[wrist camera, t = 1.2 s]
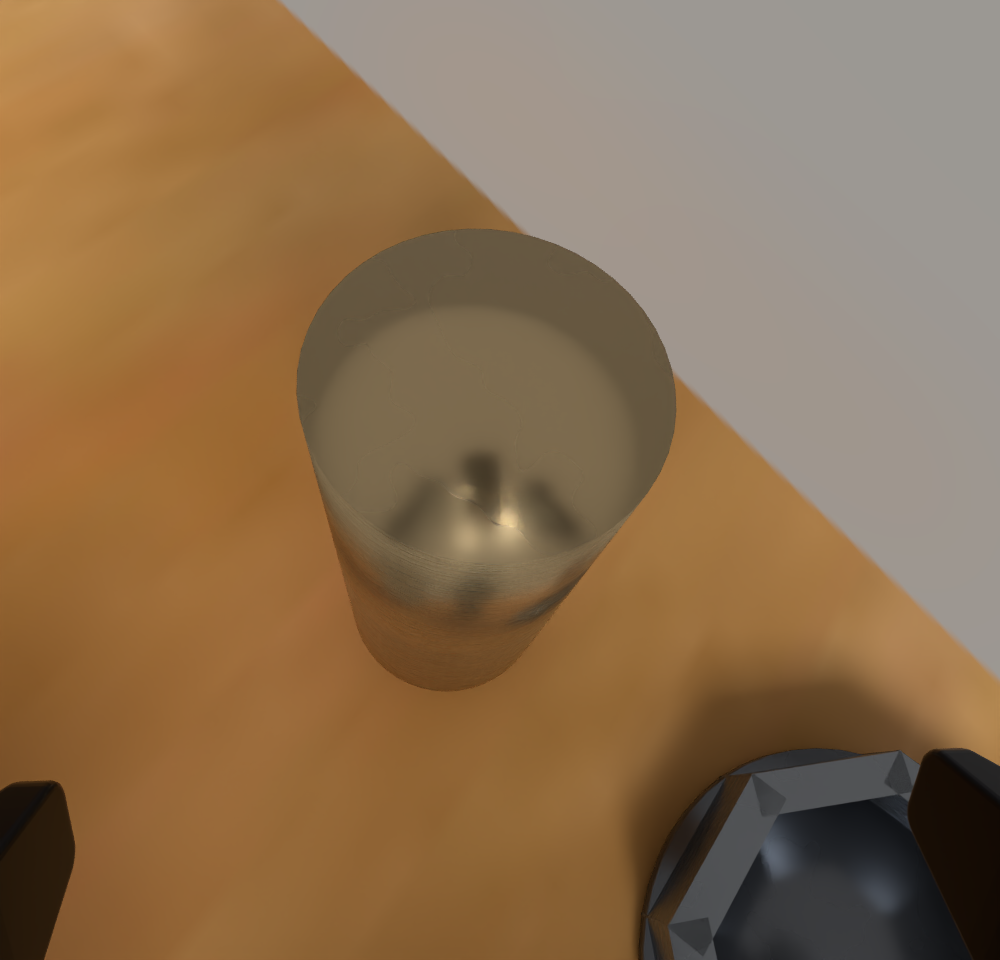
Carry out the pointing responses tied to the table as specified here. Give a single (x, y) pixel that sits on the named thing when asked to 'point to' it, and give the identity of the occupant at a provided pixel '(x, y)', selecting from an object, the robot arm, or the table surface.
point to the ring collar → (799, 867)
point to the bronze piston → (477, 441)
